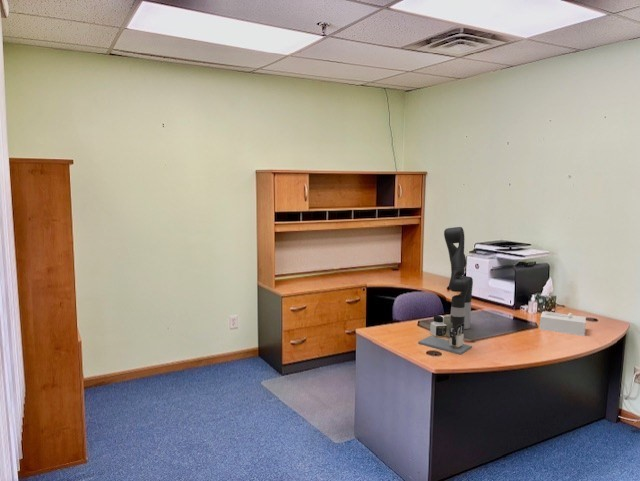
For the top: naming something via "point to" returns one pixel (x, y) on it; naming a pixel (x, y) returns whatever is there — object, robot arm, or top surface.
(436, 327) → the medicine bottle
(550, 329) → the tissue box
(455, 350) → the board
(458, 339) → the beige cube block
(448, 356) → the top surface
